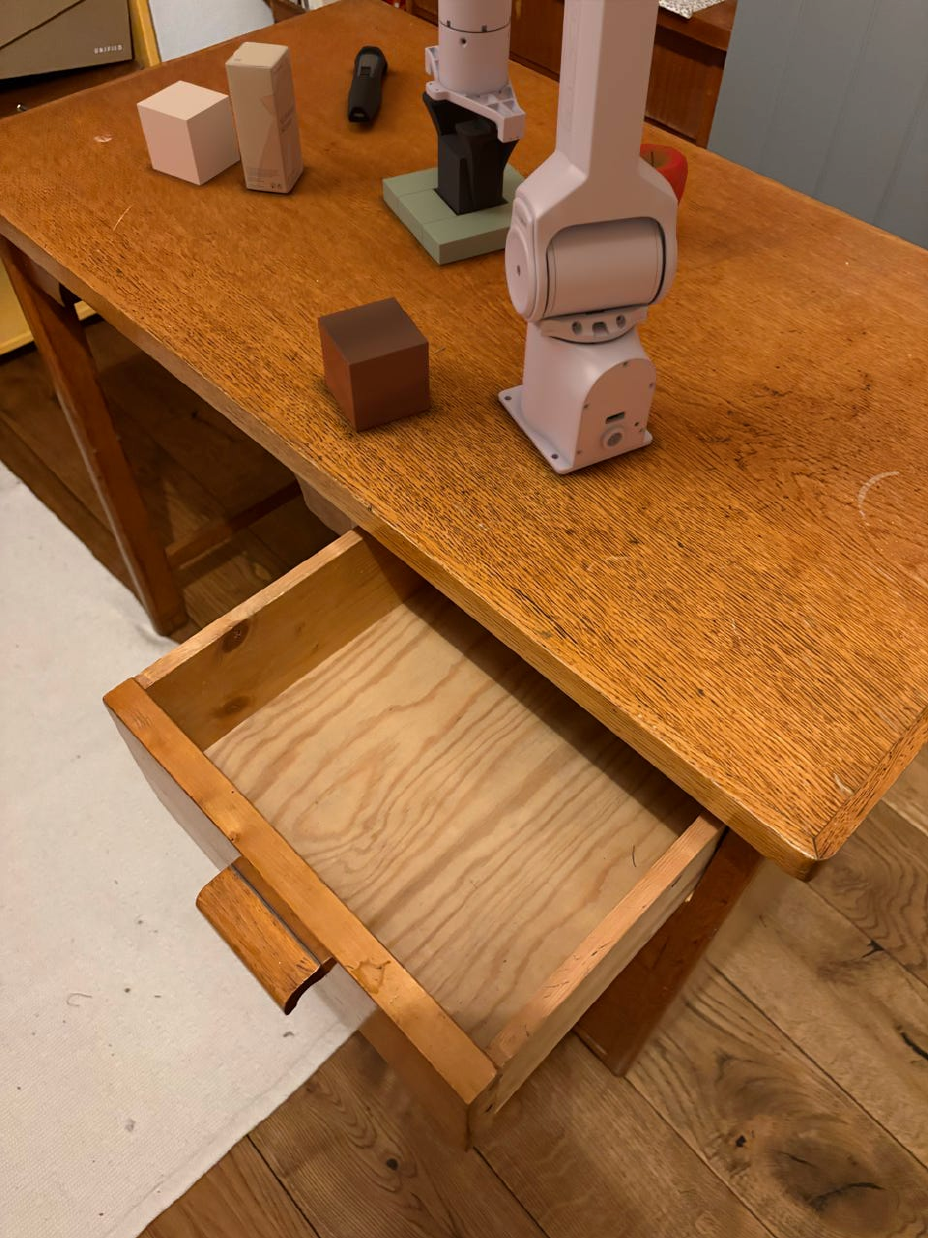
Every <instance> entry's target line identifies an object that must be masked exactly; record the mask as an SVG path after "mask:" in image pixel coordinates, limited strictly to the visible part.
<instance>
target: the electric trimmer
mask: <svg viewBox="0 0 928 1238" xmlns="http://www.w3.org/2000/svg"><path fill="white" fill-rule="evenodd" d="M353 64H354V65H353V73H352V80H351V84H350V88H349V92H348V95H347V107H346V116H347V121H348V122H350V123H361V124H363V123H365V124H366V123H367V124H369V123H371V122H372V120H373V118H374V116H375V114H376V112H377V110H378V108H379V106H380V104H381V101H382V99H383V97H382V96H383V95H382V90H381V80H382V76H383V74H385V73H387V71H388V69H389V63H388V60H387V59H386V56H385V54H384V52H383V51H382V50H381V48H379V47H378V46H373V45H365V46H363V47H361V49H359V51H358V52H357V53H356V55H355V57H354V61H353Z"/></svg>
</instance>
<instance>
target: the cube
mask: <svg viewBox="0 0 928 1238" xmlns="http://www.w3.org/2000/svg"><path fill="white" fill-rule="evenodd" d="M317 325H318V331H319V340H320V348H321V355H322V364H323V371H324V380H325V385H326V387H327V389H328V390H329V391H330V392H329V393H330V394H331V395H332V396H333V398H334V400H335V401H336V403H337V404H338V406H339V407H340V409H341V411H342V412H343V414H344V415H345V418H346V419H347V420H348V422H349V424H350V425H351V426H352V428H353V430H354V431H355V432H356V433H358V432H361V431H364V430H367V429H371V428H374V427H377V426H380V425H384V424H387V423H390V422H393V421H396V420H400V419H403V418H406V417H409V416H413V415H415V414H418V413H422V412H425V411H429V410H430V409H431V398H430V395H431V394H430V393H431V392H430V342H429V340H428V339H427V337H426V336H425V335H424V334H423V332H422V331H421V330H420V328H418V326H417V325H416V323H415V322H414V321H413V319H412V318H411V317H410V315H409V314H408V313H407V312H406V310H405V309H404V307H403V306H402V304H400V303H399V301H398V300H397V298H396V297H395V296H391V297H388V298H383V299H381V300H377V301H373V302H369V303H365V304H362V305H357V306H355V307H350V308H347V309H344V310H343V309H342V310H340V311H336V312H333V313H329V314H325V315H321V316H317Z"/></svg>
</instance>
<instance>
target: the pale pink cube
mask: <svg viewBox="0 0 928 1238" xmlns="http://www.w3.org/2000/svg"><path fill="white" fill-rule="evenodd" d="M136 107H137V112H138V115H139V120H140V123H141V127H142V131H143V135H144V139H145V143H146V146H147V151H148V155H149V158H150V162H151V166H152V169H153V170H156V171H158V172H161V173H164V174H167V175H170V176H173V177H175V178H178V179H180V180H183V181H186V182H189V183H191V184H194V185H197V186H202V185H203V184H205V183H207V182H208V181H209V180H211V179H213V178H214V177H216V176H217V175H219V174H221V173H223V172H224V171H225V170H226V169H229V167H232V166H233V165H235V163H238V162H239V161H241V155H240V149H239V143H238V138H237V132H236V126H235V121H234V115H233V109H232V105H231V98H230V95H228V94H225V93H221V92H218V91H216V90H213V89H209V88H206V87H202V86H200V85H196V84H194V83H190V82H187V81H183V80H181V79H179V80H178V81H176V82H174V83H173V84H171V85H169V86H167V87H165V88H164V89H162V90H160V91H158V92H156V93H154V94H152V95H151V96H149V97H147V98H145V99H143V100H142V101H139V102H137V103H136Z"/></svg>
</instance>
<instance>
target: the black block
mask: <svg viewBox="0 0 928 1238" xmlns="http://www.w3.org/2000/svg"><path fill="white" fill-rule="evenodd" d="M437 167H438V193H439V194H440V195H441V196H442V197H443V198H444V199H445V200H446V202H447V203H448V204H449V205H448V206H449V207H451V208H452V210H454V211H455V212H456V213H457V215H458V216H460V215H464V214H469V213H473V212H477V211H481V210H485V209H489V208H492V207H493V206H497V205H501V204H502V195H503V176H504V172H503V175H502V179H501V182H500V185H499V189H498V192H497V195H496V198H495V201H493V202H489V203H485V204H481V205H477V206H476V205H474V204H473V203H472V201H471V197H470V192H469V183H468V169H467V162H466V157H465V153H464V149H463V146H462V143H461V140H460V138H459V135H458V133H452V134H447V135H443V136H437Z"/></svg>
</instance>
